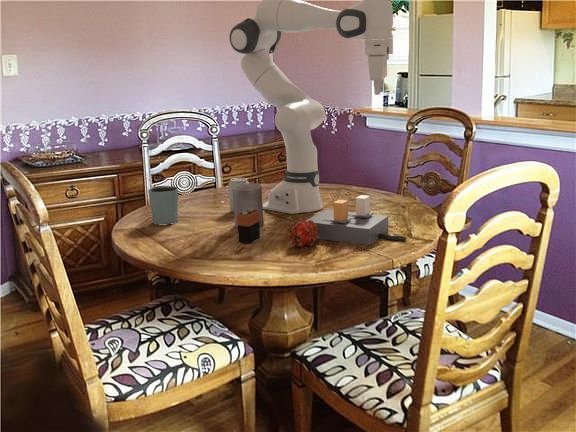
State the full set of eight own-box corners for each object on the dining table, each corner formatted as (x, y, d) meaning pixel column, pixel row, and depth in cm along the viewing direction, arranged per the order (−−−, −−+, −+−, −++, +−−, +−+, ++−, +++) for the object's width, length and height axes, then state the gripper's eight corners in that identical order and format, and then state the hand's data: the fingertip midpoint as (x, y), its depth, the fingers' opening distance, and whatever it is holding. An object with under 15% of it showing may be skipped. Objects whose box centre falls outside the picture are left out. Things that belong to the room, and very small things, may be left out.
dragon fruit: (316, 244, 199) (299, 261, 190) (294, 227, 200) (277, 243, 191) (329, 225, 195) (313, 242, 185) (307, 208, 196) (290, 224, 186)
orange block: (330, 221, 198) (329, 202, 196) (337, 217, 202) (336, 199, 200) (345, 223, 195) (344, 204, 194) (351, 219, 199) (351, 200, 198)
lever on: (352, 216, 202) (352, 197, 201) (358, 212, 207) (358, 194, 205) (367, 218, 200) (367, 199, 199) (373, 214, 204) (373, 195, 203)
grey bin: (145, 222, 224) (142, 189, 221) (168, 216, 232) (166, 184, 228) (163, 227, 218) (160, 193, 215) (186, 221, 225) (183, 187, 222)
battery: (260, 238, 202) (259, 207, 199) (249, 244, 196) (248, 212, 194) (249, 236, 204) (247, 206, 201) (237, 242, 198) (236, 211, 196)
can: (242, 214, 231) (240, 181, 228) (226, 212, 235) (224, 180, 232) (254, 209, 237) (252, 177, 234) (238, 207, 241) (236, 176, 238)
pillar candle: (250, 220, 223) (247, 178, 219) (269, 225, 216) (267, 181, 212) (229, 226, 216) (225, 183, 212) (248, 231, 210) (245, 187, 206)
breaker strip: (304, 236, 202) (303, 221, 201) (326, 223, 215) (325, 209, 214) (397, 248, 187) (397, 231, 186) (414, 233, 201) (414, 218, 199)
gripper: (372, 48, 213) (372, 91, 216) (365, 49, 193) (365, 96, 197) (391, 48, 211) (391, 90, 215) (386, 49, 192) (386, 95, 195)
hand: (378, 93), depth 206 cm, fingers open, 8 cm apart
